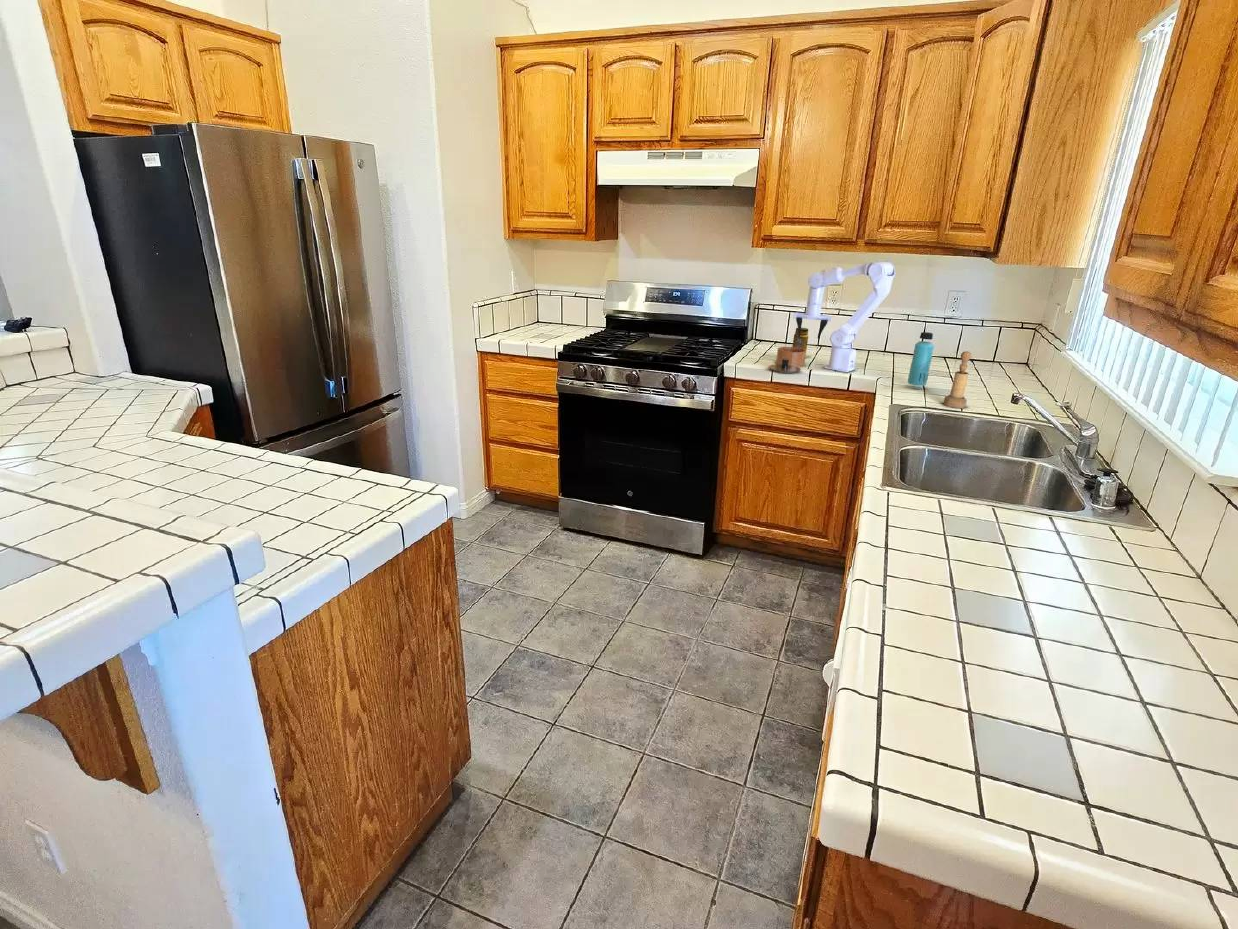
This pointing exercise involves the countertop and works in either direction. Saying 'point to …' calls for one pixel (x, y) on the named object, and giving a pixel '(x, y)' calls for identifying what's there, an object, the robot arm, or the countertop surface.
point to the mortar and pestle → (959, 385)
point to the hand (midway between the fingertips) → (808, 337)
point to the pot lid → (784, 367)
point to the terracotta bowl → (791, 355)
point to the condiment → (801, 339)
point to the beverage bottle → (921, 360)
